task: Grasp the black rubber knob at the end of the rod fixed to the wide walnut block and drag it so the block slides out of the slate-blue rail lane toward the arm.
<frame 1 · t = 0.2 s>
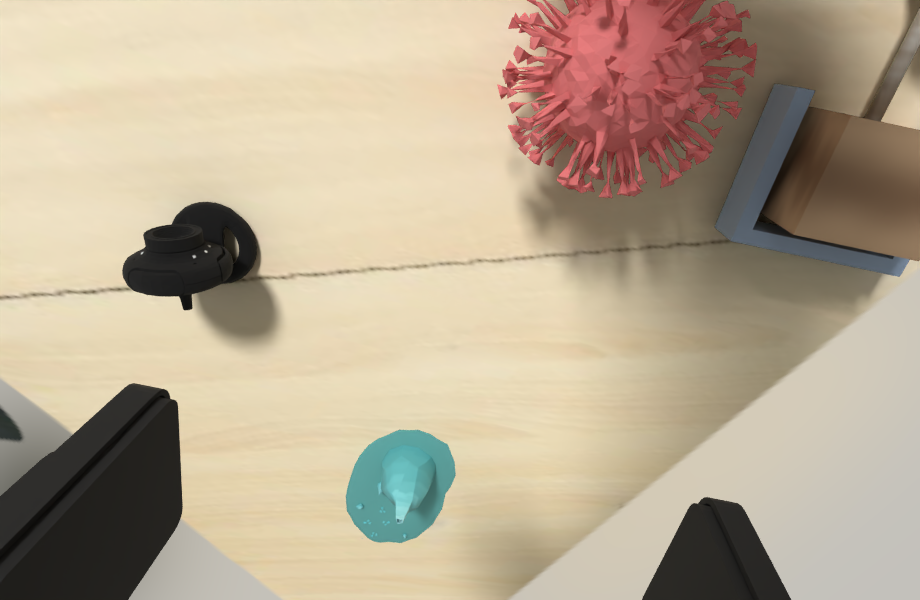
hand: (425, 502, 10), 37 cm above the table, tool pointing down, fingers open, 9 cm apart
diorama: (398, 486, 60), on the table
webcam: (218, 240, 48), on the table
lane: (829, 169, 42), on the table
tether block: (829, 169, 42), on the table
virus model: (597, 69, 40), on the table
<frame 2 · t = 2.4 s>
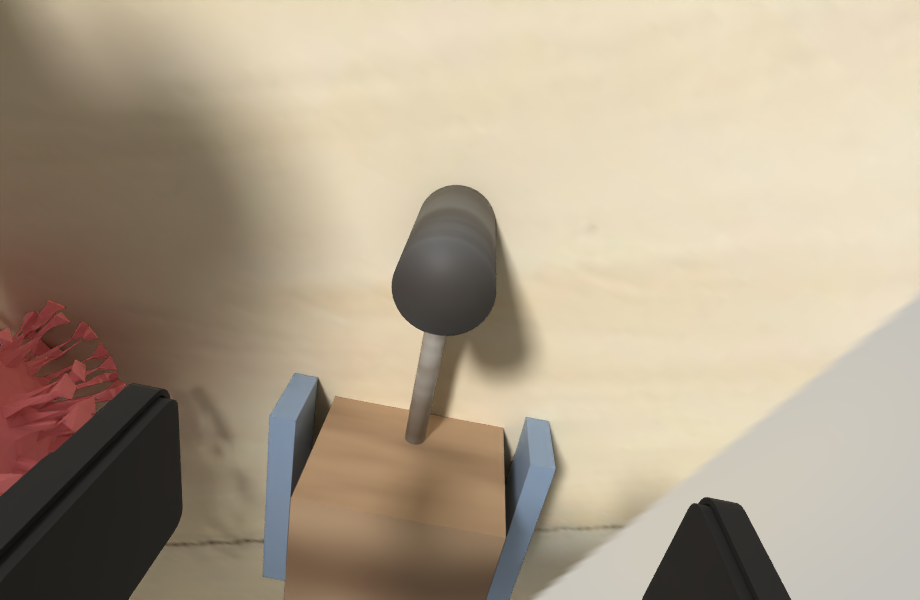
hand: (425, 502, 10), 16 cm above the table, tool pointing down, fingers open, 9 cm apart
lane: (408, 469, 30), on the table
tether block: (408, 468, 30), on the table
virus model: (52, 349, 28), on the table
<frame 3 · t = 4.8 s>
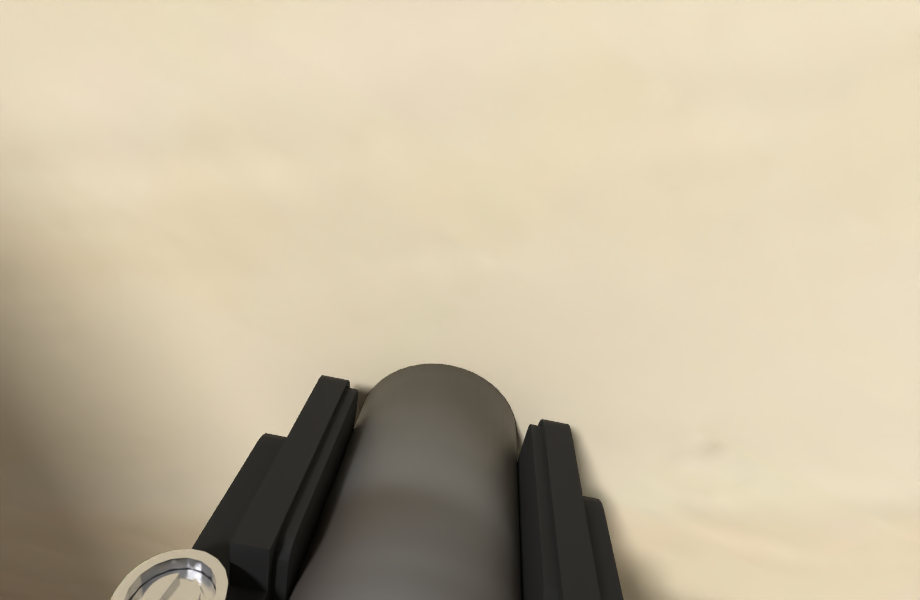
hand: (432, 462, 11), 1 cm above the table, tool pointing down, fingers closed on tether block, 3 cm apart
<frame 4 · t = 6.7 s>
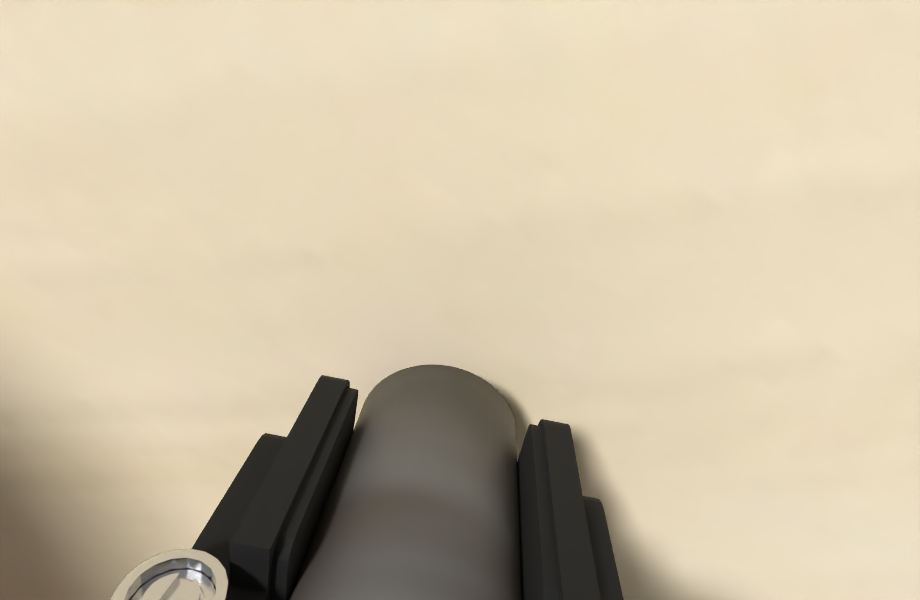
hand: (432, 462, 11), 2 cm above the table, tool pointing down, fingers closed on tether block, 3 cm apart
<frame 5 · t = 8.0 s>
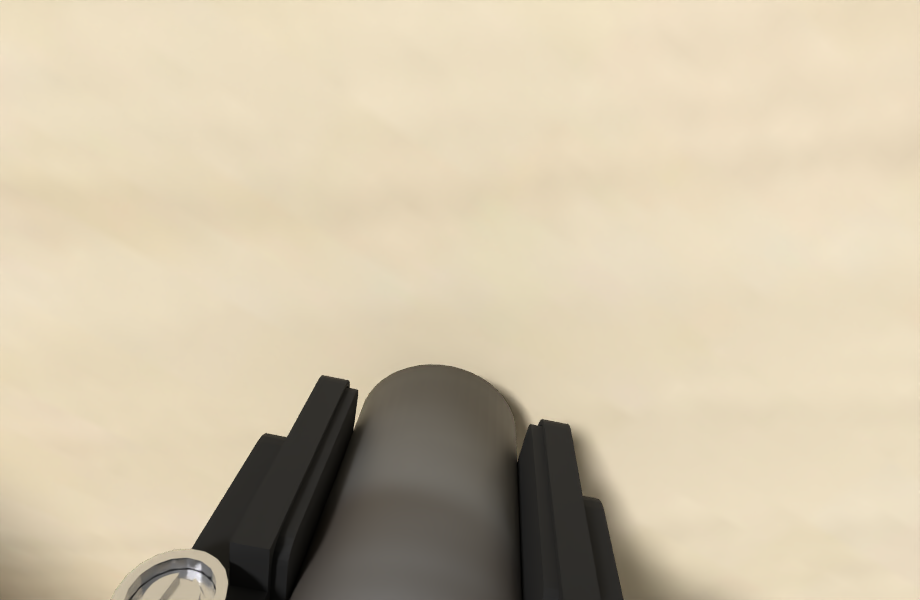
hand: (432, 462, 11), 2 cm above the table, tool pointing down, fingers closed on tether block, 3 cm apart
when the fingers open (2 cm above the table, at t = 8.8 s): tether block drops 1 cm, on the table.
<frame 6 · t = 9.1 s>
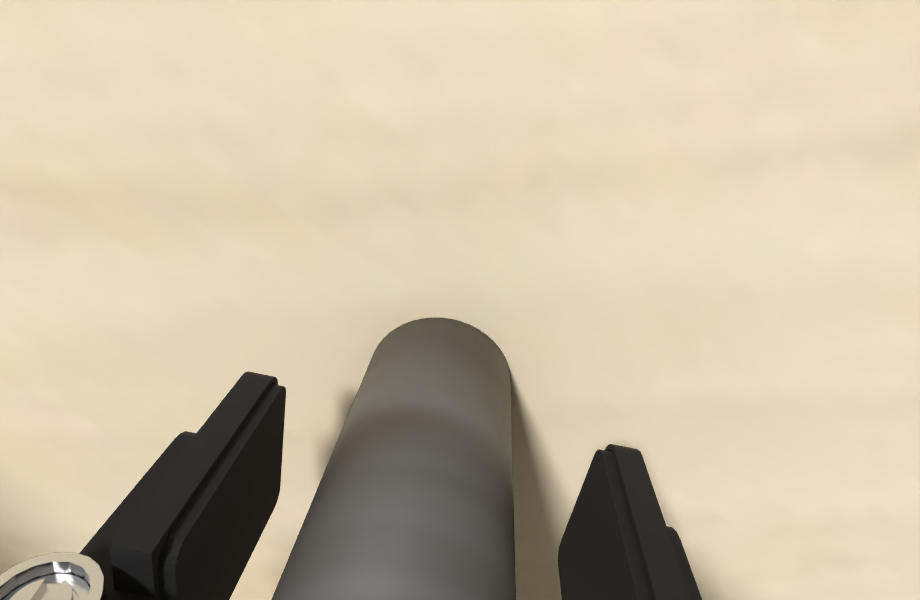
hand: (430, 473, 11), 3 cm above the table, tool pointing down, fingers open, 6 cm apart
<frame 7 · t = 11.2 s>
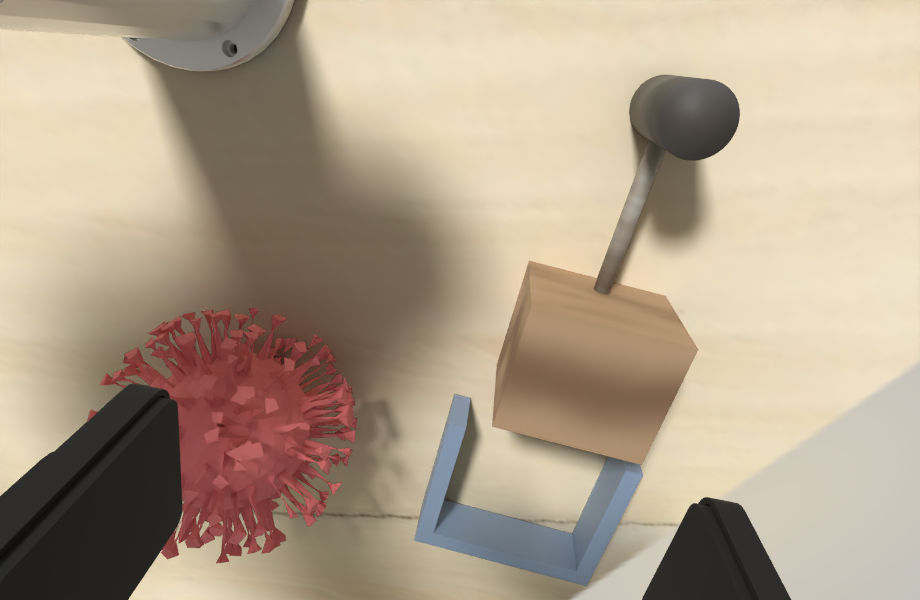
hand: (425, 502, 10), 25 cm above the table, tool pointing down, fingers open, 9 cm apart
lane: (524, 469, 41), on the table
tether block: (577, 332, 36), on the table
virus model: (282, 364, 40), on the table
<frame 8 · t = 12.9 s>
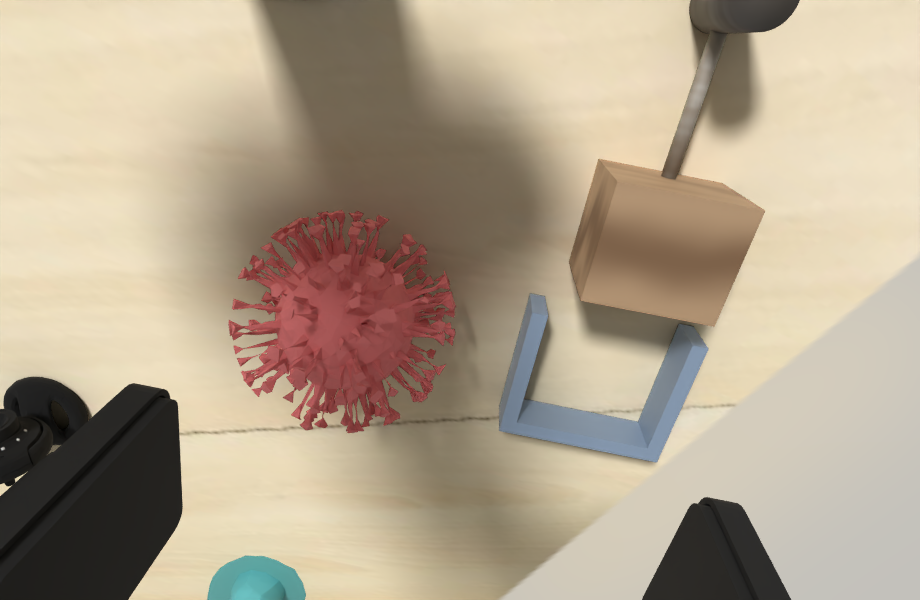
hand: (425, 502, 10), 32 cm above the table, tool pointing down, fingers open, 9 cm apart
webcam: (52, 406, 52), on the table
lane: (593, 362, 45), on the table
tether block: (642, 224, 40), on the table
virus model: (370, 277, 44), on the table
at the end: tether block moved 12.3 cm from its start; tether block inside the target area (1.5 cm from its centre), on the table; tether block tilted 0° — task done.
